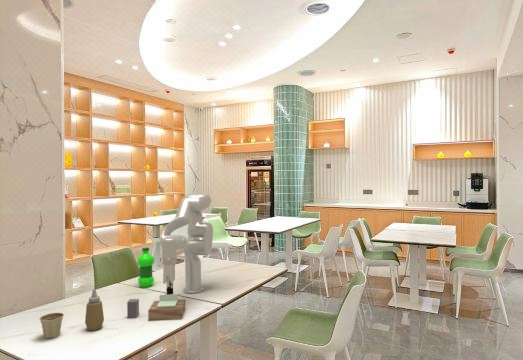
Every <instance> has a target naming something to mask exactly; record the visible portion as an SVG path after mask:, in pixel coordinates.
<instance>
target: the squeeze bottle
mask: <svg viewBox="0 0 523 360" xmlns="http://www.w3.org/2000/svg"><path fill="white" fill-rule="evenodd" d="M84 318H85V320H84V323H85V326H86V328H87V330H88V331H97V330H100V329H102V327H103V324H104V321H105V317H104V308H103V302H102V300H101V297H100V295H98V294H97V289H95V288H94V289H92V293H91V296H90V297H89V298H88V302H87V303H86V309H85V317H84Z"/></svg>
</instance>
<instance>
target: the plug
mask: <svg viewBox="0 0 523 360" xmlns="http://www.w3.org/2000/svg"><path fill="white" fill-rule="evenodd" d="M126 305H127V310H126V314H127V319H137V318H138V317H139V315H140V299H139V298H133V299H132V298H130V299H129V300H127V304H126Z"/></svg>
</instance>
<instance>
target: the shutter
mask: <svg viewBox="0 0 523 360" xmlns="http://www.w3.org/2000/svg"><path fill="white" fill-rule="evenodd" d="M178 300H179V294H178V293H173V294H167V293H166V294H159V301H160V302H159V303H158V305H157V308H168V307H175V306H176V304H177V302H178Z"/></svg>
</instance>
